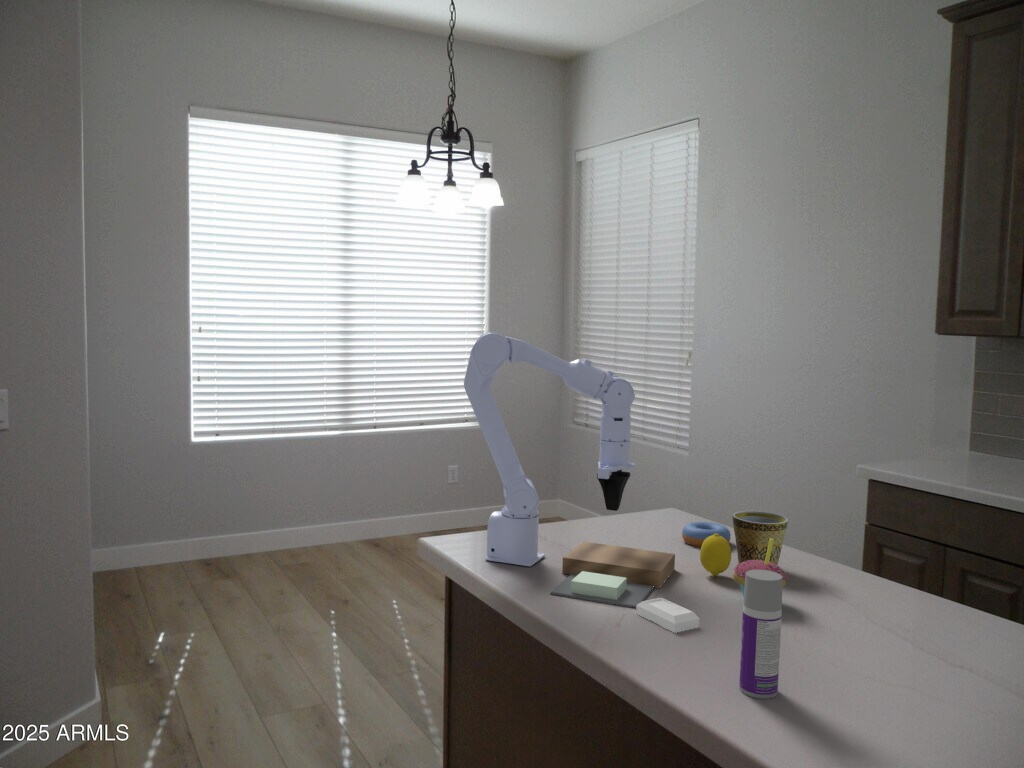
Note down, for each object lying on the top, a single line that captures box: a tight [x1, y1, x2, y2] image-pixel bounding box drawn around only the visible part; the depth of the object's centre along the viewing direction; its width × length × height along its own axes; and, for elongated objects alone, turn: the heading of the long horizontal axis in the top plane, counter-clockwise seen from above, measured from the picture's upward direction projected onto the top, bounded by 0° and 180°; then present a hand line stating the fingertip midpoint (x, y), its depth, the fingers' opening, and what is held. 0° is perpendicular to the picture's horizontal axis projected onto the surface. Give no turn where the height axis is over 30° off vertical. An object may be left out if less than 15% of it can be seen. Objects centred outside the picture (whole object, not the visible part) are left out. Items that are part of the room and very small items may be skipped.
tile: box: [571, 571, 627, 600], centre depth 140 cm, size 8×6×2 cm
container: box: [739, 570, 783, 700], centre depth 104 cm, size 5×5×15 cm
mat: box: [549, 574, 654, 609], centre depth 141 cm, size 15×11×1 cm
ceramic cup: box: [732, 510, 789, 566], centre depth 157 cm, size 13×10×10 cm
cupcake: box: [732, 535, 788, 599], centre depth 137 cm, size 9×8×12 cm
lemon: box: [699, 533, 732, 577], centre depth 150 cm, size 6×6×8 cm
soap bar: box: [635, 597, 700, 634], centre depth 128 cm, size 5×9×3 cm, turn 31°
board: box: [561, 541, 676, 588], centre depth 152 cm, size 18×12×3 cm, turn 67°
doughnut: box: [681, 521, 732, 548], centre depth 173 cm, size 10×10×5 cm
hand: (612, 509), depth 159 cm, fingers closed
